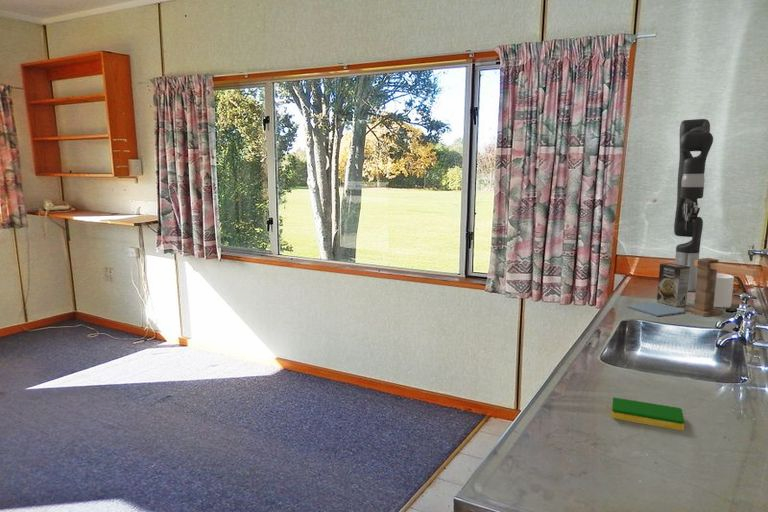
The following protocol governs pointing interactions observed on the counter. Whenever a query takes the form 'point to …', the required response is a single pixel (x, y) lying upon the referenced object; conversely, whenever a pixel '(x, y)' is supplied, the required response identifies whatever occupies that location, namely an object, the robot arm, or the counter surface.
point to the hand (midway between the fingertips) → (688, 230)
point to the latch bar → (731, 268)
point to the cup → (723, 290)
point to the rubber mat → (656, 309)
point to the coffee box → (673, 284)
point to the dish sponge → (648, 413)
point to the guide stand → (705, 289)
